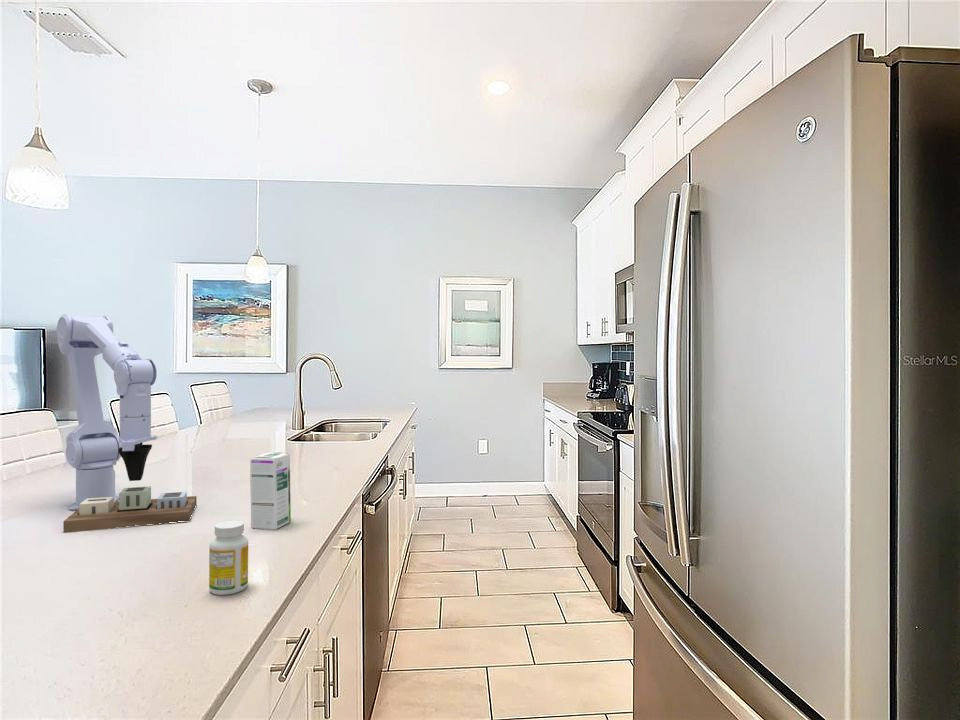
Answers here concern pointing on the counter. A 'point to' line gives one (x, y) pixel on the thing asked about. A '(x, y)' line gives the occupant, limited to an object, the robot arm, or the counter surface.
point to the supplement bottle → (228, 559)
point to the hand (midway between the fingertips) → (135, 480)
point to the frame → (129, 517)
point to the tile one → (96, 505)
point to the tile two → (134, 498)
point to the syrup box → (270, 490)
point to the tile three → (172, 500)
